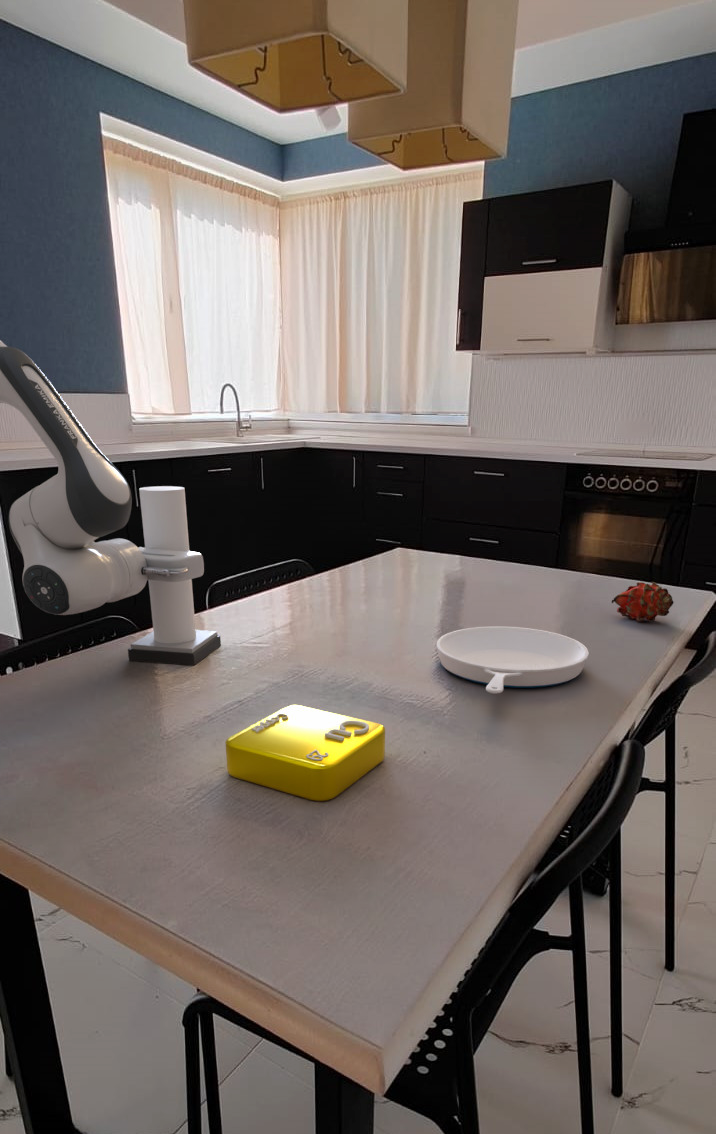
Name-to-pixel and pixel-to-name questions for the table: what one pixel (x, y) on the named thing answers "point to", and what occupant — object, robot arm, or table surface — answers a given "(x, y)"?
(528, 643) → the pan
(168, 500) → the cylindrical container
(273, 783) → the element tile
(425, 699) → the table surface
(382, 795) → the table surface
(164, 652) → the scale
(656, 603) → the dragon fruit
